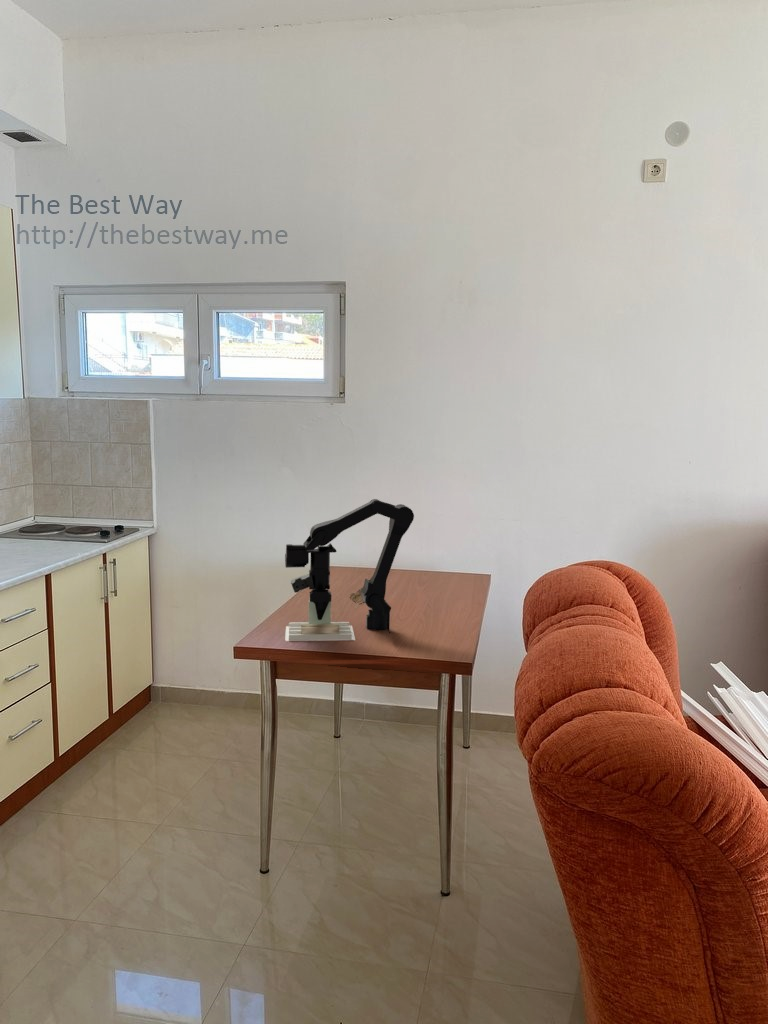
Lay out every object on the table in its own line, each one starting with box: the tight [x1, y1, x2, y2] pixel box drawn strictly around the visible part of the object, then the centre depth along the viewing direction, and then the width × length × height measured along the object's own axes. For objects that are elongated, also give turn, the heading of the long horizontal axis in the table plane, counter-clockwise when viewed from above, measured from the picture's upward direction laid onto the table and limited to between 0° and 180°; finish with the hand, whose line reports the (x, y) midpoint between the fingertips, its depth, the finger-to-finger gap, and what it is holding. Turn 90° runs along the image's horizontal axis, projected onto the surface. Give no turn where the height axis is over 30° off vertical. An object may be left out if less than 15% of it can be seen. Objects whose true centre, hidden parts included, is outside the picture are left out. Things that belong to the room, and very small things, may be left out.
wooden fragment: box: [348, 587, 365, 605], centre depth 283 cm, size 26×11×1 cm, turn 164°
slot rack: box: [284, 621, 356, 642], centre depth 231 cm, size 20×15×2 cm
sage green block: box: [308, 598, 332, 624], centre depth 234 cm, size 6×3×9 cm, turn 96°
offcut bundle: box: [301, 624, 339, 634], centre depth 227 cm, size 11×3×4 cm, turn 96°
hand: (319, 618), depth 234 cm, fingers closed on sage green block, 3 cm apart
